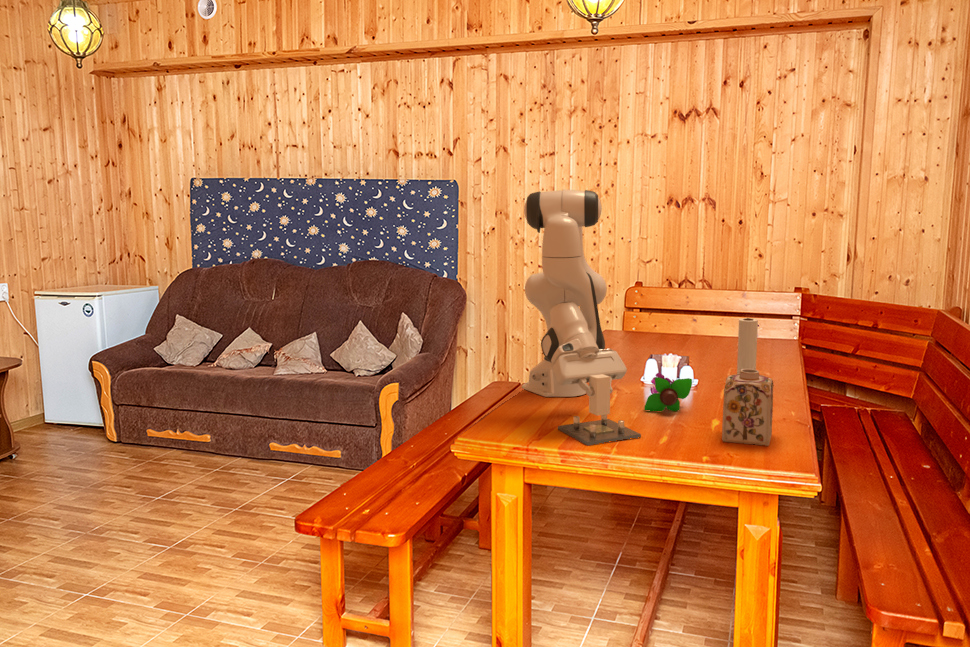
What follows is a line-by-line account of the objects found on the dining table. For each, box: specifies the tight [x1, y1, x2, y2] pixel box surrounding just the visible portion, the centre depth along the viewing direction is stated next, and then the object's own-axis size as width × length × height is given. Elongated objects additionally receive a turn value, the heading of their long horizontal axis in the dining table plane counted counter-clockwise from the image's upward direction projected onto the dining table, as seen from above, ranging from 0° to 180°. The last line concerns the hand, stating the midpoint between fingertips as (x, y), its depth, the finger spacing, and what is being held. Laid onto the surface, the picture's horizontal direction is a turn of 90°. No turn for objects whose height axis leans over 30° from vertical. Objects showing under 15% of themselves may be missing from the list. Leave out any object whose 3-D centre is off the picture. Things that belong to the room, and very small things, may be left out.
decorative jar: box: [721, 369, 774, 447], centre depth 209 cm, size 12×12×18 cm
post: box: [588, 374, 611, 416], centre depth 214 cm, size 4×4×10 cm
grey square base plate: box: [557, 414, 642, 446], centre depth 216 cm, size 16×16×4 cm
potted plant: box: [643, 372, 693, 412], centre depth 249 cm, size 12×16×35 cm
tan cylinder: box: [736, 317, 759, 374], centre depth 272 cm, size 7×6×21 cm
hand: (600, 393), depth 214 cm, fingers closed on post, 4 cm apart
